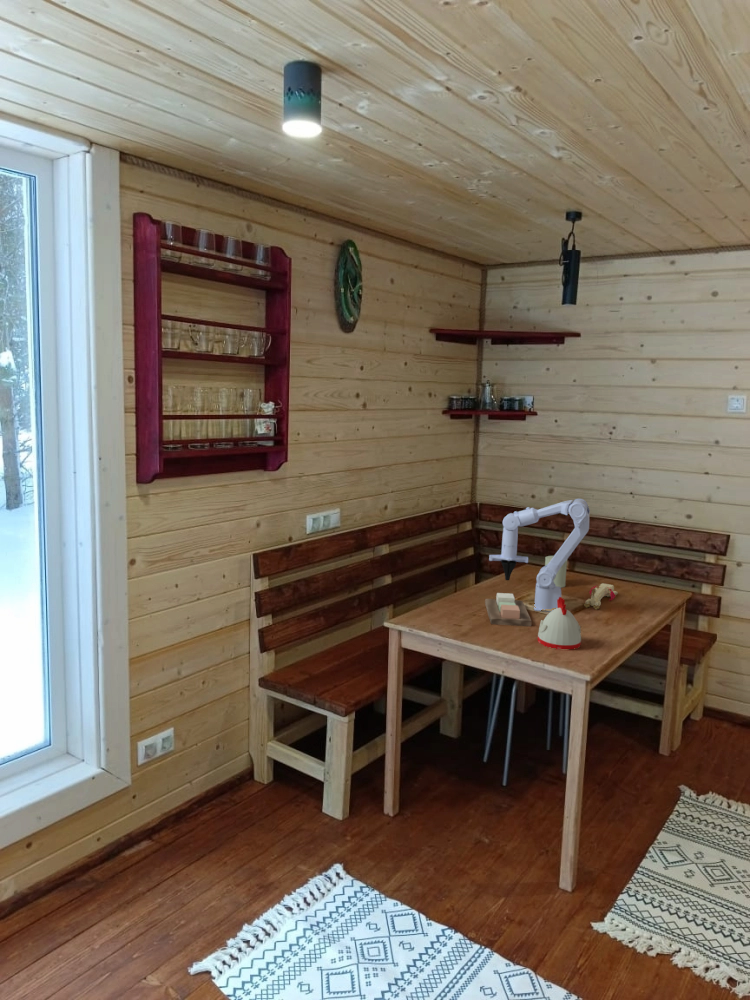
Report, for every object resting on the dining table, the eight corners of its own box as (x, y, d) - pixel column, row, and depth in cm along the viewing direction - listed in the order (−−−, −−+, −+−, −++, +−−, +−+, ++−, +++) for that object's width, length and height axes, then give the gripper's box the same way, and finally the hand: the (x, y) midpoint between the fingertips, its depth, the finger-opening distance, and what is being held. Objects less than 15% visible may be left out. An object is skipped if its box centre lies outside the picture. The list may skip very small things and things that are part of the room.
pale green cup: (567, 588, 315) (570, 560, 313) (545, 587, 314) (548, 559, 313) (562, 582, 324) (564, 555, 322) (540, 581, 324) (543, 554, 322)
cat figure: (603, 614, 286) (620, 594, 306) (605, 592, 284) (622, 574, 304) (578, 609, 291) (596, 589, 311) (579, 588, 289) (597, 569, 309)
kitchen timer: (573, 636, 256) (577, 593, 253) (586, 650, 242) (590, 605, 240) (532, 635, 255) (536, 592, 253) (543, 649, 242) (547, 604, 239)
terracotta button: (517, 614, 271) (517, 605, 271) (519, 620, 265) (520, 610, 265) (500, 613, 272) (501, 604, 271) (502, 619, 266) (502, 609, 265)
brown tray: (521, 605, 288) (522, 600, 287) (531, 626, 264) (531, 620, 264) (485, 603, 288) (485, 598, 288) (490, 624, 265) (491, 618, 264)
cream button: (512, 602, 286) (512, 593, 285) (514, 607, 280) (514, 598, 280) (496, 601, 286) (496, 592, 286) (497, 606, 280) (498, 597, 280)
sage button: (514, 611, 279) (514, 602, 278) (516, 616, 273) (517, 607, 272) (498, 610, 279) (498, 601, 279) (499, 616, 273) (500, 606, 273)
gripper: (491, 546, 282) (489, 581, 285) (530, 548, 282) (527, 583, 284) (489, 542, 289) (487, 576, 292) (527, 544, 289) (525, 578, 291)
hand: (507, 579), depth 288 cm, fingers closed
